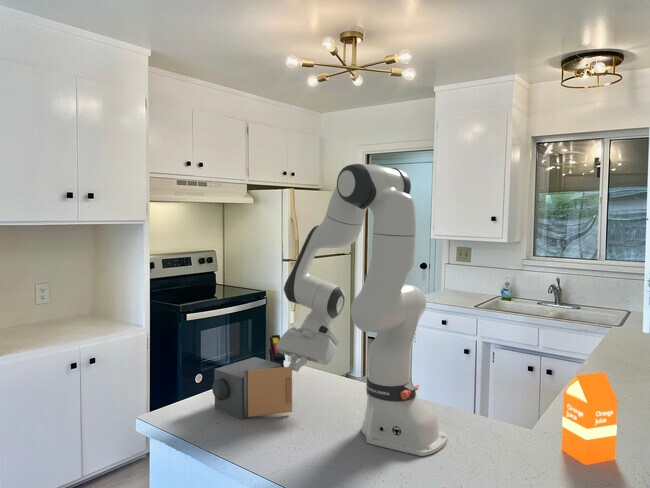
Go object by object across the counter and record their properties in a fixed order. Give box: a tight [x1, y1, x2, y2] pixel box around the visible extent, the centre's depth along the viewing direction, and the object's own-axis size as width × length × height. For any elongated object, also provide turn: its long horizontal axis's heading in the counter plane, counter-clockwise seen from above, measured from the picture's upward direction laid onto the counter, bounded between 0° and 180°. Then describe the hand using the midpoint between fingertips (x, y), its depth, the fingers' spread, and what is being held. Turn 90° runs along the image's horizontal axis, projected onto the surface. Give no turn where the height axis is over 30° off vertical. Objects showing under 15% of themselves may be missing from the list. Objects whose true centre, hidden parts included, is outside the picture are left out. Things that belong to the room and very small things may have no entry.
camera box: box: [211, 356, 281, 420], centre depth 149 cm, size 12×18×12 cm
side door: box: [244, 366, 293, 418], centre depth 141 cm, size 2×14×13 cm, turn 105°
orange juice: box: [561, 371, 618, 465], centre depth 120 cm, size 8×9×20 cm
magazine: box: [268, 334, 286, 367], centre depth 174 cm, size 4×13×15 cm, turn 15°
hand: (292, 369), depth 148 cm, fingers closed
